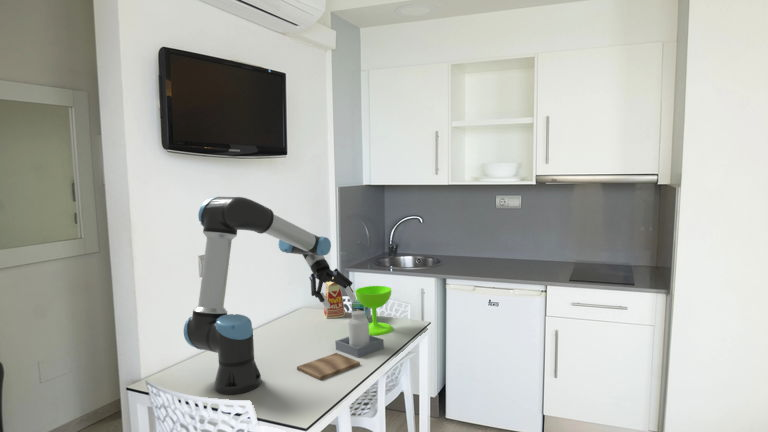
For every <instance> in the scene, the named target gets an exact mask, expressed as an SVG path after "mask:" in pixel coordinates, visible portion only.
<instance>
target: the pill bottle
mask: <svg viewBox="0 0 768 432" xmlns="http://www.w3.org/2000/svg"><path fill="white" fill-rule="evenodd" d="M369 323H370V321H369V320H368V319H367V318H365V311H361V310H357V311H353V312H352V311H351V318H350V319H349V321H348V337H349V344H350V345H351V346H354V347H357V348H358V347H361V346H364V345H367V344H369Z"/></svg>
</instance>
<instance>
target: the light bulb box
mask: <svg viewBox="0 0 768 432" xmlns="http://www.w3.org/2000/svg"><path fill="white" fill-rule="evenodd" d="M355 297H356V296H355ZM357 310H361V311H365V318H367V319H368V321H369V320H370V319H371V318H372V308H368V307H365V306H364V305H362V304H361V303H360V302H359V301H358V299H357V297H356V299H355V301H354V302H352V301H351V313H352V312H353V311H357Z"/></svg>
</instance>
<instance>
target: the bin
mask: <svg viewBox="0 0 768 432" xmlns="http://www.w3.org/2000/svg"><path fill="white" fill-rule="evenodd" d="M384 343H385V342H384V339H383V338H380V337H377V336H371V335H369V344H367V345H364V346H361V347H358V348H357V347H354V346H351V345H350V344H349V336H346V337H343V338H340V339H338V340H335V350H336V351H339V352H342V353H344V354H347V355H350V356H352V357H355V358H357V359H358V358H360V357H363V356H366V355H368V354H371V353H374V352H377V351H380V350H382V349H384V348H385V346H384V345H385V344H384Z"/></svg>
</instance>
